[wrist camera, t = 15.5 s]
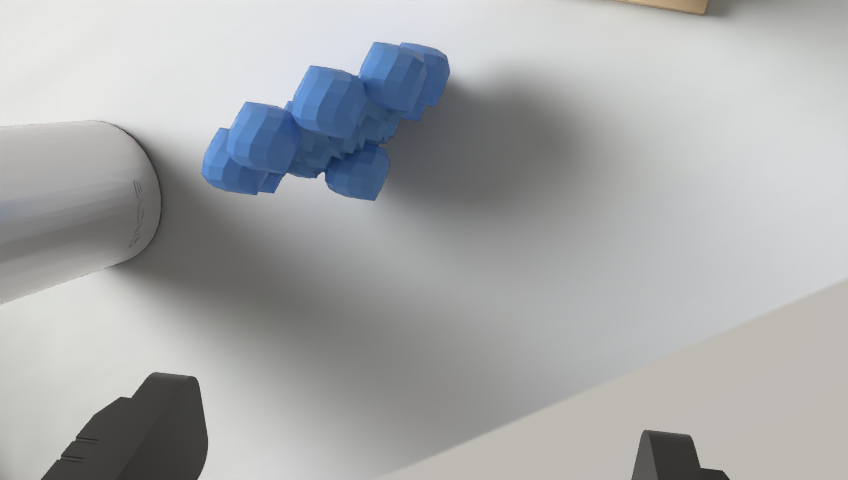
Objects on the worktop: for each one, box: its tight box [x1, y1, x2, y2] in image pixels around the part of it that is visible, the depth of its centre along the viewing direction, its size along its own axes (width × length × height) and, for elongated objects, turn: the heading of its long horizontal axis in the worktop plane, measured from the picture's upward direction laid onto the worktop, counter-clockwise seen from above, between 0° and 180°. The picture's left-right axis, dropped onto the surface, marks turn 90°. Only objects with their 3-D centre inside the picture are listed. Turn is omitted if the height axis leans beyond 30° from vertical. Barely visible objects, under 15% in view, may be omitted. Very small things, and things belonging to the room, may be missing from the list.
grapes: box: [201, 42, 450, 201], centre depth 33 cm, size 12×7×12 cm, turn 119°
